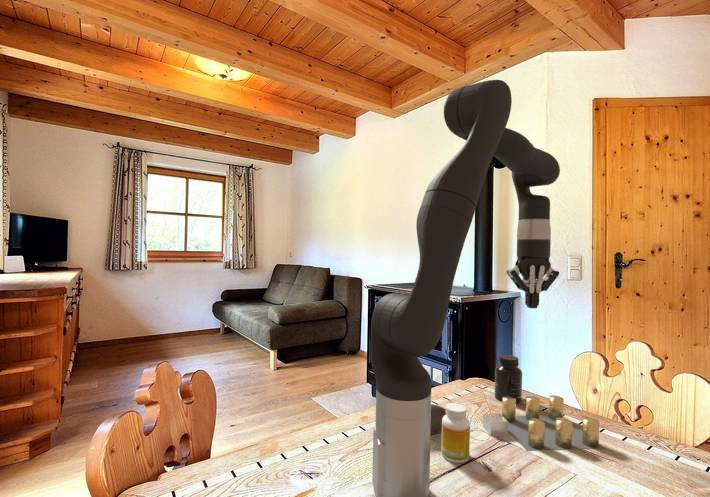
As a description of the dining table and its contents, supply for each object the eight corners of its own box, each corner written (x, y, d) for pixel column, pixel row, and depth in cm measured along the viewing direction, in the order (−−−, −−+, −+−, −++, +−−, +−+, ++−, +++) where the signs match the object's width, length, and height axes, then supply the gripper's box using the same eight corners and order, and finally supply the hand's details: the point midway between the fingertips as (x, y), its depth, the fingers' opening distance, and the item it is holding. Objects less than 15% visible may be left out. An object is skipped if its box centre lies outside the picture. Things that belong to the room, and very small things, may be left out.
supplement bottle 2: (489, 398, 101) (489, 355, 101) (506, 394, 104) (507, 352, 104) (508, 408, 95) (509, 362, 95) (527, 403, 98) (528, 359, 98)
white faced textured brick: (490, 436, 79) (490, 422, 79) (482, 427, 83) (482, 414, 83) (508, 435, 80) (508, 422, 80) (499, 426, 84) (499, 413, 84)
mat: (498, 454, 73) (498, 451, 73) (469, 419, 88) (469, 416, 88) (605, 451, 75) (605, 448, 75) (559, 417, 90) (559, 414, 90)
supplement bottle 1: (470, 465, 69) (471, 414, 69) (441, 461, 70) (442, 411, 70) (467, 450, 75) (468, 403, 75) (440, 446, 76) (441, 400, 76)
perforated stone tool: (446, 426, 85) (447, 396, 85) (456, 438, 80) (456, 406, 80) (384, 429, 83) (384, 399, 83) (389, 442, 77) (390, 409, 77)
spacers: (533, 449, 74) (533, 425, 74) (499, 416, 89) (500, 396, 89) (602, 447, 75) (602, 423, 75) (558, 415, 90) (558, 395, 90)
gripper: (515, 237, 86) (514, 310, 86) (568, 238, 87) (567, 310, 87) (500, 238, 94) (499, 305, 94) (549, 239, 95) (548, 305, 95)
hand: (532, 307), depth 90 cm, fingers closed
